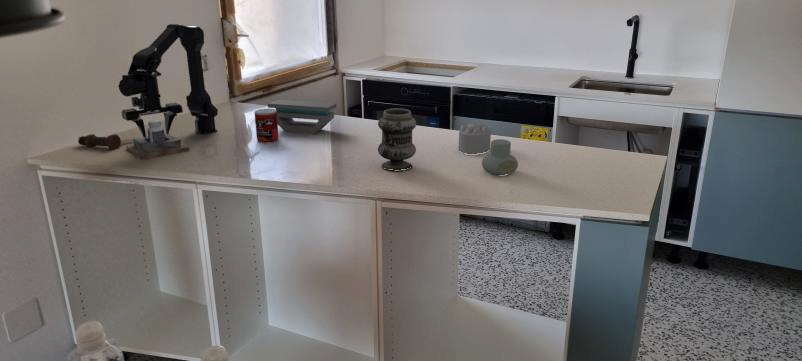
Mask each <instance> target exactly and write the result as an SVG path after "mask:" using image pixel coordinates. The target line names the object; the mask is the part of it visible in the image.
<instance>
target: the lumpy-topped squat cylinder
mask: <svg viewBox="0 0 802 361" xmlns="http://www.w3.org/2000/svg"><path fill="white" fill-rule="evenodd" d="M491 131H492V129H491V127H490V126H486V125H485V124H483V123H474V122H473V123H469V124H467V125H466V124H463V125H461V126H460V129H459V131H458V152H459V151H461V152H463V153H467V154H477V153H483V152H487V151H488V150H489V149H490V150H491V135H492V134H491V133H492V132H491ZM490 150H489V151H490Z"/></svg>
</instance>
